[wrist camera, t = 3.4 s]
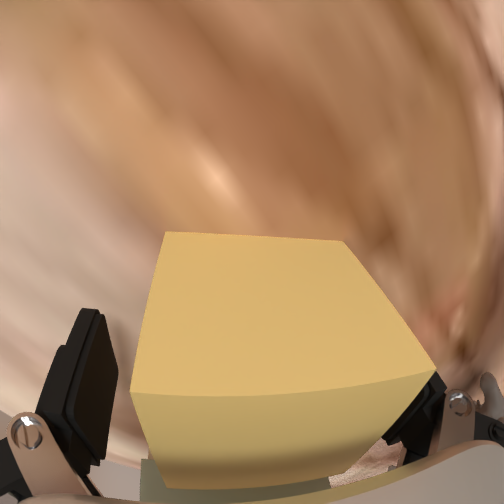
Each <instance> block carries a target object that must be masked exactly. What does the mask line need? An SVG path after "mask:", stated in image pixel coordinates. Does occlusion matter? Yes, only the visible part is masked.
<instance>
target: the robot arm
mask: <svg viewBox="0 0 504 504" xmlns="http://www.w3.org/2000/svg"><path fill="white" fill-rule="evenodd" d="M117 380H118V366H117V363H116V359H115V355H114V352H113V348H112V344H111V340H110V336H109V332H108V328H107V323H106V319H105V316H104V314H100V312H99V310H98V309H87V308H82V309H81V310H80V312H79V314H78V316H77V319H76V321H75V323H74V326H73V328H72V330H71V333H70V335H69V337H68V340H67V342H66V345H61V346H60V347H59V348H58V350H57V352H56V355H55V357H54V360H53V362H52V365H51V367H50V370H49V373H48V375H47V378H46V381H45V384H44V386H43V389H42V392H41V395H40V398H39V401H38V404H37V407H36V411H35V413H32V412H23V413H19V414H18V415H16V416H14V417H13V418H12V420H11V421H10V422H9V424H8V427H7V437H6V438H4V439H2V440H0V504H168V503H151V502H140V501H130V500H122V499H114V498H106V497H104V496H103V495H102V493H101V492H100V491H99V490H98V488H97V487H96V485H95V484H94V483H93V481H92V480H91V478H90V477H89V475H88V474H89V473H90V465H94V466H100V459H101V460H104V459H105V457H106V449H107V442H108V434H109V427H110V421H111V414H112V408H113V402H114V396H115V391H116V386H117ZM446 389H447V387H446V385H445V384H444V382H443V380H442V379H441V377H440V376H439V374H438V373H437V371H435V372H434V373H433V375H432V376H431V378H430V379H429V380H428V382H427V383H426V384H425V386H424V387H423V388H422V390H421V391H420V392H419V393H418V395H417V396H416V397H415V398H414V400H413V401H412V402H411V403H410V405H409V406H408V407H407V408H406V409H405V411H404V412H403V413H402V414H401V415H400V417H399V418H398V419H397V420H396V421H395V422H394V423H393V425H392V426H391V427H390V428H389V429H388V430H387V431H386V432H385V433H384V434H383V435H382V437H381V438H382V439H383V440H386V443H387V445H388V446H389V445H392V444H395V443H398V442H400V441H402V443H403V447H402V450H401V453H400V457H399V460H398V463H397V466H396V469H394V470H391V471H388V472H386V473H383V474H380V475H377V476H374V477H371V478H367V479H364V480H361V481H357V482H354V483H350V484H347V485H343V486H339V487H335V488H331V489H327V490H323V491H318V492H313V493H308V494H303V495H298V496H292V497H286V498H279V499H272V500H264V501H254V502H243V503H229V504H504V424H503V423H502V422H500V421H498V420H496V419H493V418H491V417H488V416H486V415H483V414H481V413H479V412H476V411H475V405H474V402H473V400H472V399H471V397H470V396H469V395H468V394H467V393H465V392H463V391H461V390H451V391H449V392H448V393H447V395H446V394H445V393H444V392H445V390H446Z"/></svg>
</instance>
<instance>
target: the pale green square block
mask: <svg viewBox="0 0 504 504" xmlns="http://www.w3.org/2000/svg"><path fill="white" fill-rule="evenodd" d="M327 489H331V486H330V482H329V479H328V477H324V478H319V479H314V480H309V481H303V482H297V483H290V484H283V485H275V486H266V487H255V488H241V489H214V490H199V489H172V488H167V487H166V485H165V483H164V481H163V478H162V476H161V474H160V472H159V470H158V467H157V465H156V463H155V460H149V459H141V479H140V502H151V503H168V504H229V503H243V502H254V501H264V500H272V499H279V498H286V497H292V496H298V495H303V494H308V493H313V492H318V491H323V490H327Z"/></svg>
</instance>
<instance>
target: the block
mask: <svg viewBox="0 0 504 504" xmlns="http://www.w3.org/2000/svg"><path fill="white" fill-rule="evenodd" d="M436 369H437V368H436V367H435V365H434V364H433V362H432V361H431V359H430V358H429V356H428V355H427V353H426V352H425V350H424V349H423V347H422V346H421V344H420V343H419V341H418V340H417V339H416V337H415V336H414V334H413V333H412V331H411V330H410V328H409V327H408V326H407V324H406V323H405V321H404V320H403V319H402V317H401V316H400V315H399V313H398V312H397V310H396V309H395V308H394V306H393V305H392V304H391V302H390V301H389V300H388V298H387V297H386V296H385V294H384V293H383V292H382V290H381V289H380V288H379V286H378V285H377V284H376V282H375V281H374V280H373V278H372V277H371V276H370V275H369V273H368V272H367V271H366V269H365V268H364V267H363V266H362V264H361V263H360V262H359V261H358V259H357V258H356V257H355V256H354V254H353V253H352V252H351V251H350V249H349V248H348V247H347V246H346V244H345V243H344V242H343V241H329V240H314V239H298V238H282V237H264V236H247V235H228V234H209V233H188V232H165V236H164V239H163V243H162V246H161V250H160V253H159V257H158V261H157V265H156V268H155V272H154V276H153V280H152V284H151V288H150V292H149V296H148V301H147V305H146V309H145V314H144V318H143V323H142V327H141V332H140V337H139V342H138V347H137V352H136V357H135V362H134V368H133V374H132V379H131V385H130V391H129V392H130V395H131V398H132V401H133V404H134V407H135V410H136V413H137V416H138V419H139V422H140V424H141V427H142V430H143V433H144V435H145V438H146V441H147V443H148V446H149V448H150V451H151V453H152V455H153V458H154V460H155V463H156V465H157V467H158V470H159V472H160V474H161V476H162V478H163V481H164V483H165V485H166V487H167V488H172V489H199V490H214V489H241V488H255V487H266V486H275V485H283V484H290V483H297V482H303V481H309V480H314V479H319V478H324V477H329V476H333V475H338V474H342V473H345V472H346V471H347V470H348V469H349V468H350V467H351V466H352V465H353V464H354V463H355V462H357V461H358V460H359V459H360V458H361V457H362V456H363V455H364V454H365V453H366V452H367V451H368V450H369V449H370V448H371V447H372V446H373V445H374V444H375V443H376V442H377V441H378V440H379V439H380V438H381V437H382V435H383V434H384V433H385V432H386V431H387V430H388V429H389V428H390V427H391V426H392V425H393V423H394V422H395V421H396V420H397V419H398V418H399V417H400V415H401V414H402V413H403V412H404V411H405V409H406V408H407V407H408V406H409V405H410V403H411V402H412V401H413V400H414V398H415V397H416V396H417V395H418V393H419V392H420V391H421V390H422V388H423V387H424V386H425V384H426V383H427V382H428V380H429V379H430V378H431V376H432V375H433V373H434V372H435V371H436Z"/></svg>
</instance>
